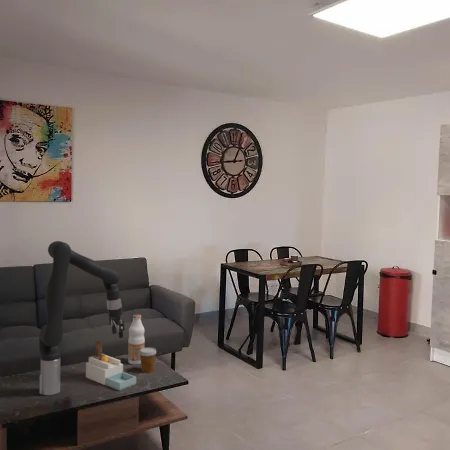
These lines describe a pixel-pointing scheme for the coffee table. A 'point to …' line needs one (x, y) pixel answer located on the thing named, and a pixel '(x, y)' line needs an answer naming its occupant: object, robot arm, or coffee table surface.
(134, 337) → the fruit juice
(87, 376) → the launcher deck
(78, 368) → the coffee table surface
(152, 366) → the disposable coffee cup
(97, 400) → the coffee table surface
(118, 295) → the robot arm
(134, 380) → the bin
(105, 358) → the ball
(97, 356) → the plunger
